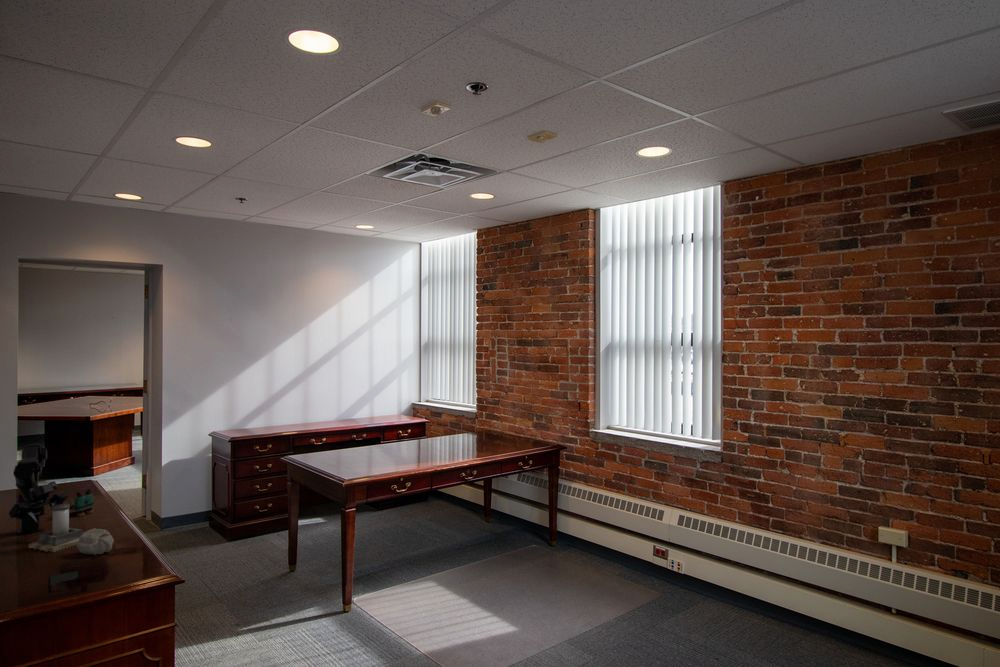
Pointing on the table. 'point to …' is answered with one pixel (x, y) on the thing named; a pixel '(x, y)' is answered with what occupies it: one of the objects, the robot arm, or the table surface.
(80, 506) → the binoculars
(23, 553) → the table surface
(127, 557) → the table surface
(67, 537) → the collar
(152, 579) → the table surface
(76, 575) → the phone
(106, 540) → the fossil replica
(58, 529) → the tube
